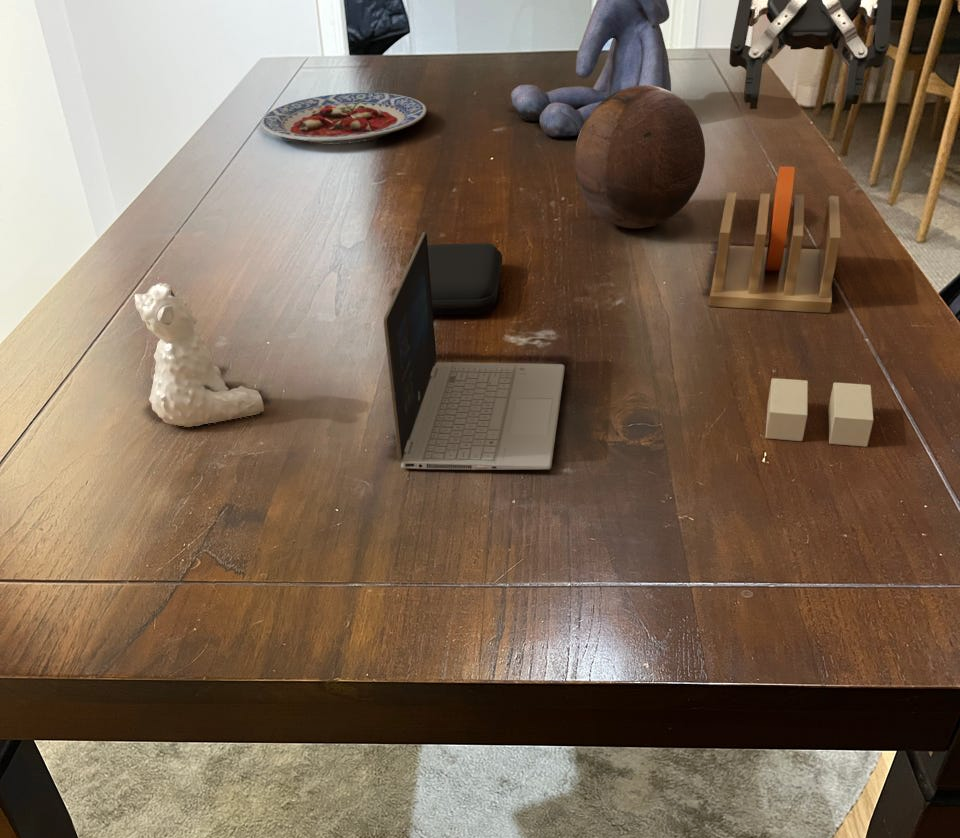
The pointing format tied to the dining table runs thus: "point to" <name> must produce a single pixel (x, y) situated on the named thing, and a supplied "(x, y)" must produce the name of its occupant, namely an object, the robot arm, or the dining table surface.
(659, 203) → the wooden sphere
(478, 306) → the carrying case
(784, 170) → the disc
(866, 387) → the cubes
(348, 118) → the ceramic plate
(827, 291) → the rack
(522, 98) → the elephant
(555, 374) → the laptop
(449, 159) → the dining table surface
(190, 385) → the white creature statuette
